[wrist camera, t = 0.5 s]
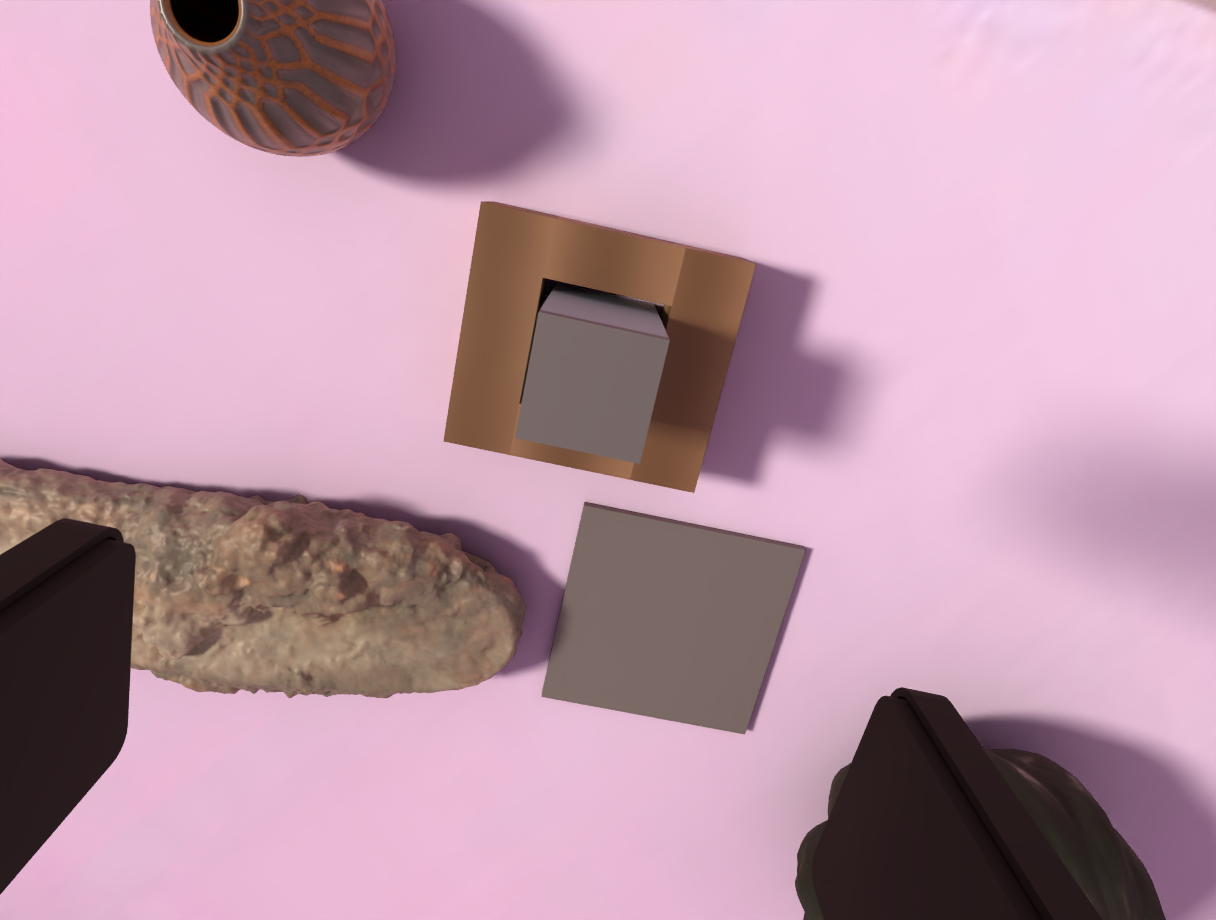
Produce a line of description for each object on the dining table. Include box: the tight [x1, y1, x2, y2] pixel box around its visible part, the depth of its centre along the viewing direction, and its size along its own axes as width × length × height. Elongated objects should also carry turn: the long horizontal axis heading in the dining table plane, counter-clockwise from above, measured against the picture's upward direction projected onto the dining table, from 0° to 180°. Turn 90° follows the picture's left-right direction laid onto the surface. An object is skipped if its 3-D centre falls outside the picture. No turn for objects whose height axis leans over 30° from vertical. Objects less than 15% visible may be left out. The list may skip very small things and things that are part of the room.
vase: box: [150, 0, 396, 157], centre depth 24 cm, size 7×7×9 cm
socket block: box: [444, 202, 756, 493], centre depth 30 cm, size 10×9×3 cm
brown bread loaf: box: [0, 459, 525, 698], centre depth 33 cm, size 35×5×10 cm
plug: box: [515, 283, 670, 464], centre depth 28 cm, size 4×4×8 cm
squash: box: [795, 748, 1166, 920], centre depth 34 cm, size 14×15×15 cm
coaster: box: [542, 502, 805, 734], centre depth 36 cm, size 10×10×1 cm
